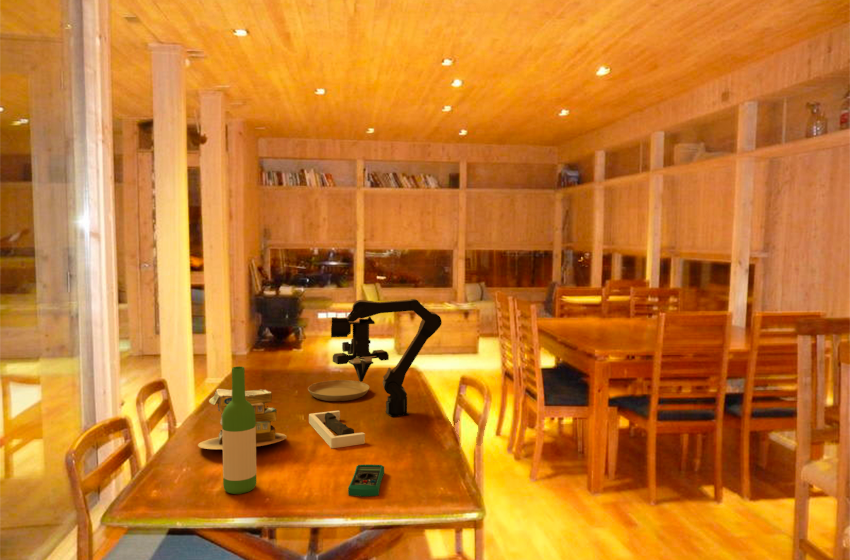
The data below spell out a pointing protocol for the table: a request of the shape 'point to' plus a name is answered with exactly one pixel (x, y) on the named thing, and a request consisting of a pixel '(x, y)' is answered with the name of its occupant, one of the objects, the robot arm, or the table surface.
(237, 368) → the wine bottle
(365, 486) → the digital multimeter
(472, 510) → the table surface
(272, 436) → the plate of stacked boxes
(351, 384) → the plant saucer
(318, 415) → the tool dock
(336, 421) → the hand tool
